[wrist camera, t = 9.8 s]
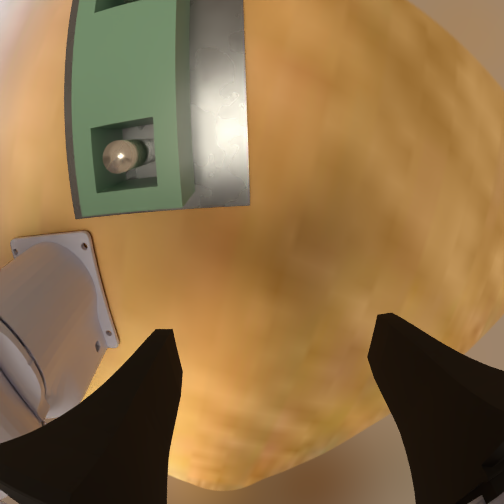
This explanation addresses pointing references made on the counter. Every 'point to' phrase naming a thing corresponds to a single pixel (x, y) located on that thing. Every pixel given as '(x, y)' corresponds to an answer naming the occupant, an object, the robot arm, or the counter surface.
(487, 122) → the counter surface
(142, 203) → the green block with holes
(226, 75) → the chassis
